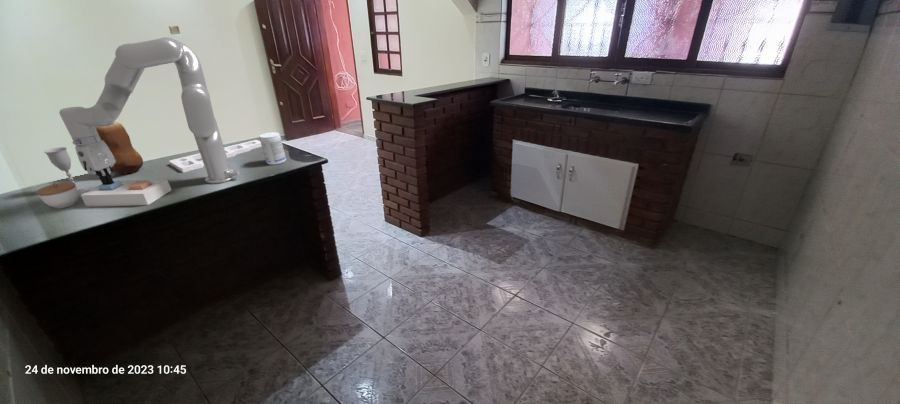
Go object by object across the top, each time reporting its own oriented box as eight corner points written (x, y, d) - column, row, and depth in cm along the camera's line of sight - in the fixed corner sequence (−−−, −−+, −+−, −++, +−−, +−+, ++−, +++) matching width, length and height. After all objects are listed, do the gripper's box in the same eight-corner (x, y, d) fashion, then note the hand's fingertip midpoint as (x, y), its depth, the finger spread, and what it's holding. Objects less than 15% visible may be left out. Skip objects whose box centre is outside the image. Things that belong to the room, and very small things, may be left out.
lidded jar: (46, 205, 141) (33, 184, 137) (82, 196, 148) (71, 176, 144) (47, 213, 135) (34, 191, 130) (85, 204, 142) (73, 183, 138)
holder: (257, 144, 213) (255, 139, 212) (272, 149, 203) (271, 145, 202) (170, 165, 182) (168, 160, 180) (183, 173, 172) (181, 168, 170)
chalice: (90, 186, 157) (70, 148, 149) (72, 193, 151) (50, 153, 143) (80, 184, 159) (60, 146, 151) (61, 190, 154) (39, 151, 145)
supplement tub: (287, 158, 188) (281, 131, 182) (284, 164, 180) (277, 136, 173) (268, 159, 187) (261, 132, 180) (264, 166, 178) (256, 137, 172)
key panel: (171, 190, 153) (167, 179, 151) (148, 204, 141) (143, 193, 138) (115, 191, 152) (110, 180, 150) (86, 206, 140) (80, 195, 138)
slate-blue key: (123, 187, 147) (120, 181, 146) (113, 192, 142) (110, 186, 141) (111, 187, 147) (108, 181, 145) (101, 193, 142) (97, 186, 141)
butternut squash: (137, 166, 180) (115, 117, 168) (152, 170, 175) (131, 120, 163) (104, 175, 169) (78, 124, 157) (119, 180, 164) (94, 127, 152)
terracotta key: (152, 187, 147) (149, 180, 146) (143, 192, 143) (140, 185, 142) (140, 187, 147) (137, 180, 146) (131, 192, 143) (128, 185, 141)
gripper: (79, 146, 128) (102, 191, 137) (113, 134, 142) (132, 176, 150) (58, 146, 128) (82, 191, 136) (94, 134, 141) (114, 176, 150)
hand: (108, 183), depth 143 cm, fingers closed
